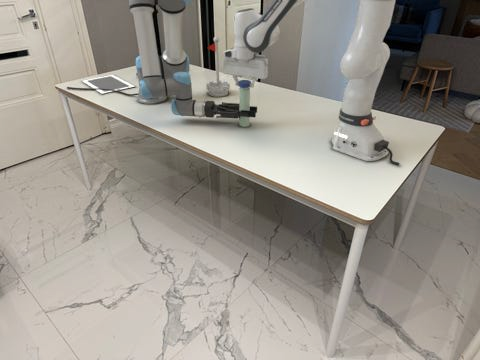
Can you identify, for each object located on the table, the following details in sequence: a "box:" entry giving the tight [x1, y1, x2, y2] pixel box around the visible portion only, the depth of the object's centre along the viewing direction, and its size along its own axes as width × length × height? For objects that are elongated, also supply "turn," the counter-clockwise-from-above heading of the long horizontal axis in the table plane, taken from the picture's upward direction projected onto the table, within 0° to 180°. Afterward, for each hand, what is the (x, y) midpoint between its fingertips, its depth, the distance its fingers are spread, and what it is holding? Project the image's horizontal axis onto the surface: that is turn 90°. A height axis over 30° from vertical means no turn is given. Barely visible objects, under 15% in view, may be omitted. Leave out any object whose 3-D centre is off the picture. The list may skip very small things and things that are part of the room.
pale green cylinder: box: [238, 87, 251, 128], centre depth 150 cm, size 5×5×19 cm
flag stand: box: [205, 36, 231, 98], centre depth 183 cm, size 13×13×30 cm
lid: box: [238, 79, 252, 88], centre depth 145 cm, size 5×5×2 cm
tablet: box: [81, 74, 136, 95], centre depth 206 cm, size 32×20×1 cm, turn 41°
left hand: (256, 111), depth 151 cm, fingers closed on pale green cylinder, 5 cm apart
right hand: (244, 86), depth 146 cm, fingers closed on lid, 5 cm apart
